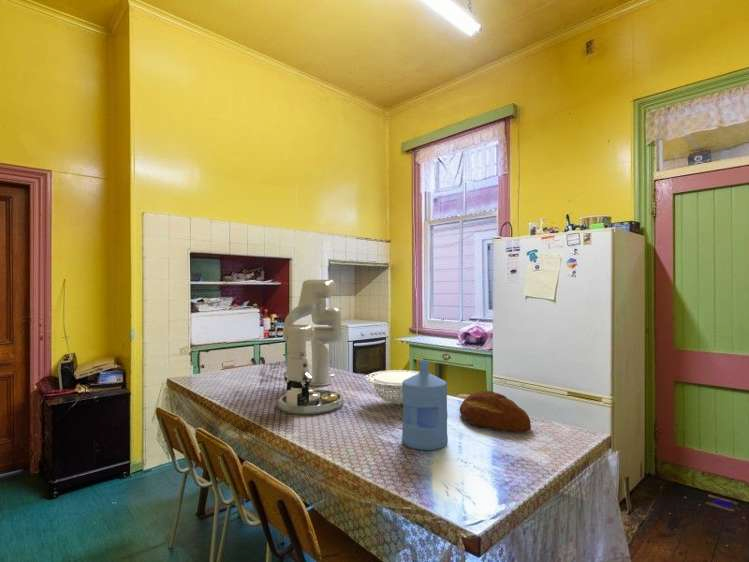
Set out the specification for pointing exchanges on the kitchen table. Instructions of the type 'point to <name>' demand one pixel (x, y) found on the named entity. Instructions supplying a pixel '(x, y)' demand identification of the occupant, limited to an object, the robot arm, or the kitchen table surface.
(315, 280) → the robot arm
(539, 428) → the kitchen table surface
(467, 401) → the bread
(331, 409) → the carrier
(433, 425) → the water jug
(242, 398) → the kitchen table surface
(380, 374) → the colander
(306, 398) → the medicine bottle
